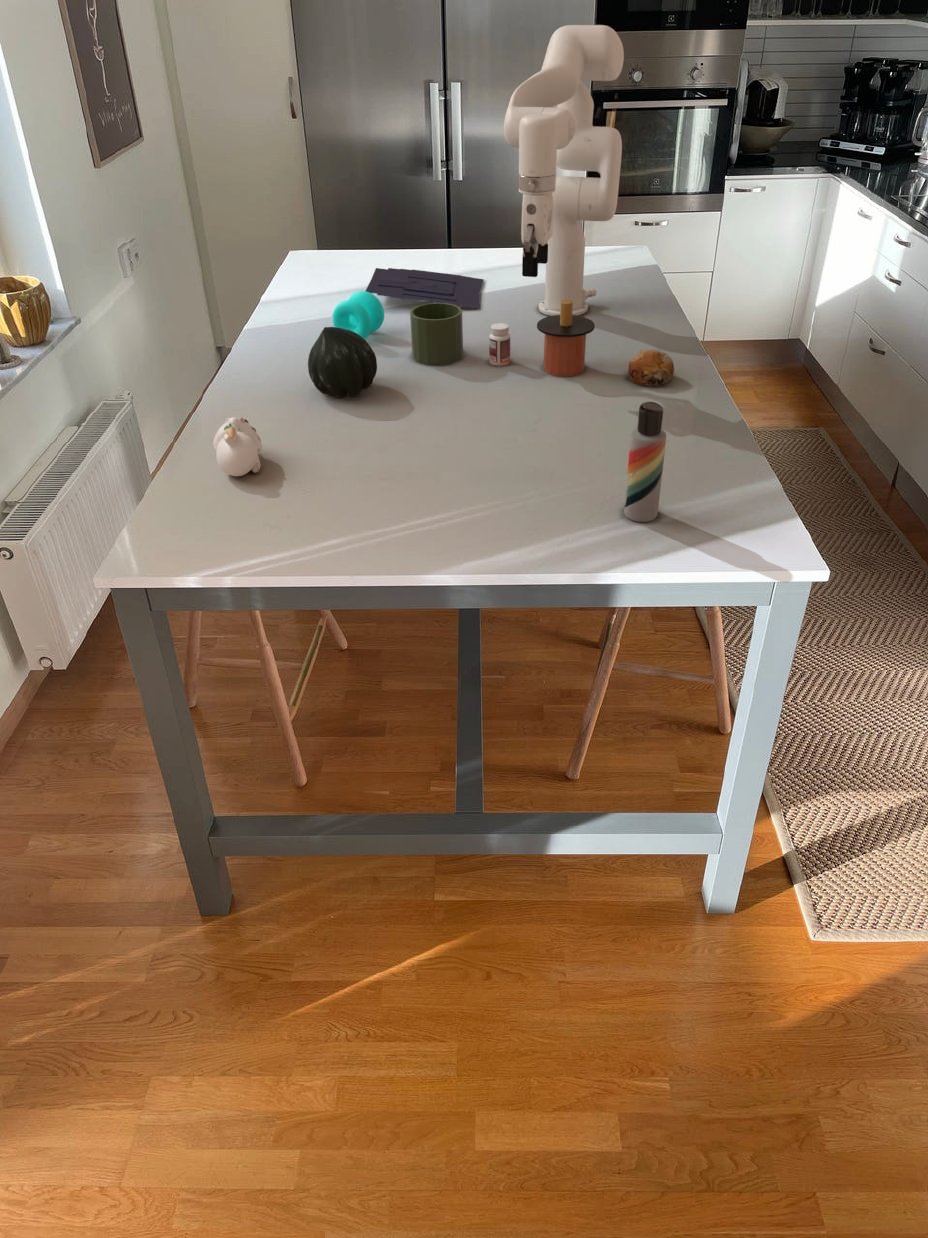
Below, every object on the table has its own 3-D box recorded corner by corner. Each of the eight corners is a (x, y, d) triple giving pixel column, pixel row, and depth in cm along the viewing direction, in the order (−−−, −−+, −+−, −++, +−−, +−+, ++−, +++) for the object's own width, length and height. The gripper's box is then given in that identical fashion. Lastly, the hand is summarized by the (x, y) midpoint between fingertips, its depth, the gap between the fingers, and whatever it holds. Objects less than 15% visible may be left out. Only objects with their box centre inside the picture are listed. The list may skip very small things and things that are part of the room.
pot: (444, 342, 229) (442, 299, 223) (472, 357, 221) (471, 312, 215) (403, 354, 224) (400, 309, 218) (431, 369, 216) (428, 323, 210)
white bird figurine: (237, 437, 169) (233, 395, 179) (202, 462, 171) (199, 418, 181) (272, 472, 175) (265, 429, 186) (237, 496, 177) (233, 452, 188)
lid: (568, 315, 216) (570, 288, 213) (606, 330, 208) (608, 302, 204) (525, 327, 211) (525, 300, 207) (562, 344, 202) (563, 315, 199)
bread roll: (673, 390, 213) (679, 353, 211) (668, 388, 203) (674, 349, 201) (629, 385, 215) (634, 349, 214) (622, 382, 206) (628, 344, 204)
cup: (566, 357, 220) (568, 319, 215) (592, 369, 214) (594, 330, 209) (535, 367, 216) (536, 328, 210) (561, 379, 210) (563, 339, 204)
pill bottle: (510, 358, 220) (511, 322, 215) (509, 366, 217) (509, 329, 212) (490, 357, 221) (490, 322, 216) (488, 365, 217) (488, 329, 212)
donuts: (332, 341, 231) (328, 300, 225) (351, 327, 239) (347, 287, 233) (369, 346, 228) (366, 304, 222) (387, 332, 236) (384, 291, 230)
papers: (376, 275, 268) (377, 262, 265) (482, 288, 268) (484, 275, 266) (363, 304, 248) (363, 290, 246) (477, 318, 248) (479, 304, 246)
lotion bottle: (620, 506, 165) (629, 398, 153) (653, 504, 166) (664, 396, 154) (627, 523, 161) (638, 413, 149) (661, 521, 161) (674, 411, 149)
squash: (400, 360, 206) (354, 303, 203) (366, 389, 196) (317, 330, 192) (362, 393, 216) (317, 339, 212) (327, 422, 206) (280, 366, 202)
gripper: (546, 193, 186) (543, 282, 196) (563, 174, 199) (560, 258, 210) (508, 191, 188) (508, 280, 198) (528, 173, 201) (527, 256, 211)
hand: (535, 269), depth 204 cm, fingers open, 9 cm apart
